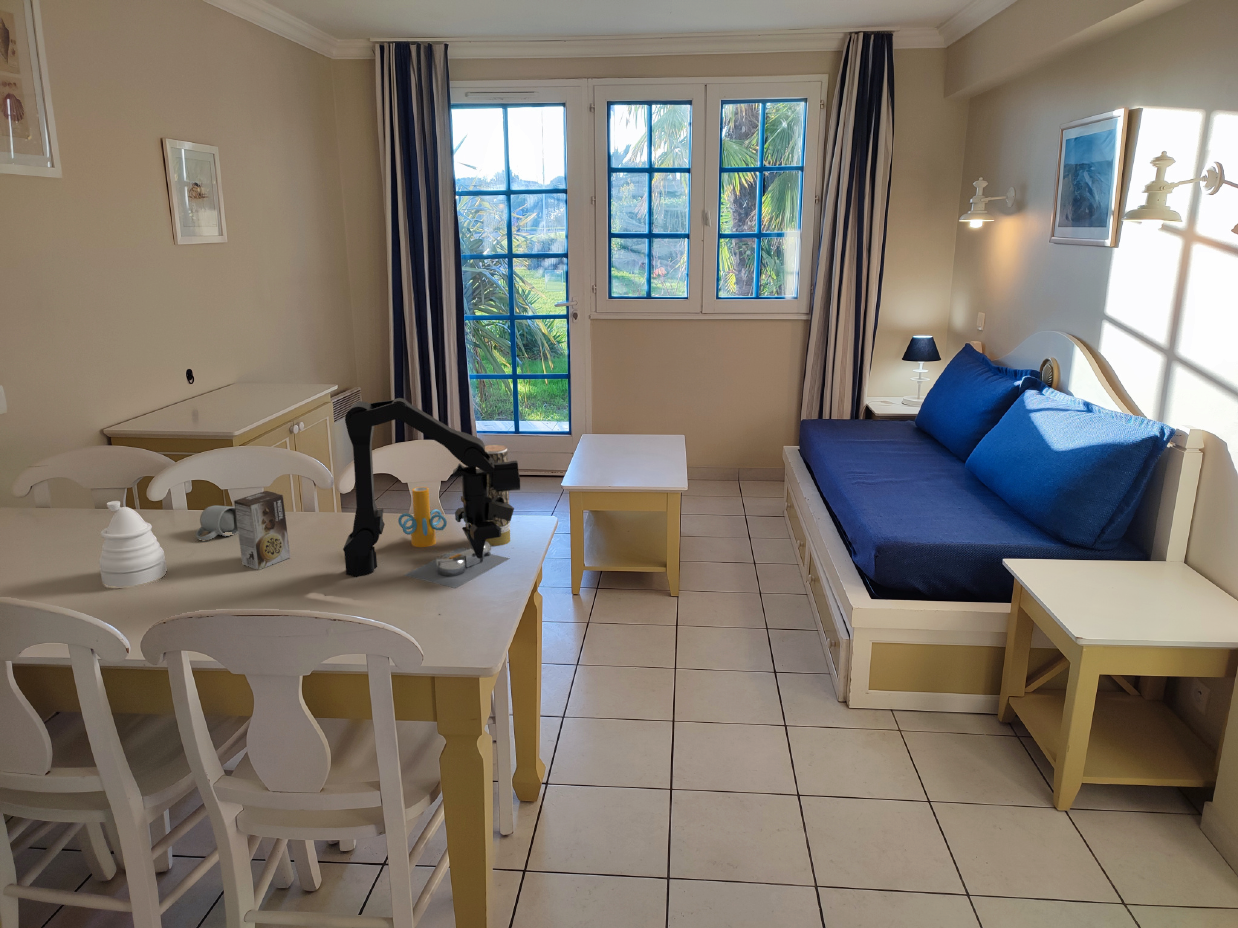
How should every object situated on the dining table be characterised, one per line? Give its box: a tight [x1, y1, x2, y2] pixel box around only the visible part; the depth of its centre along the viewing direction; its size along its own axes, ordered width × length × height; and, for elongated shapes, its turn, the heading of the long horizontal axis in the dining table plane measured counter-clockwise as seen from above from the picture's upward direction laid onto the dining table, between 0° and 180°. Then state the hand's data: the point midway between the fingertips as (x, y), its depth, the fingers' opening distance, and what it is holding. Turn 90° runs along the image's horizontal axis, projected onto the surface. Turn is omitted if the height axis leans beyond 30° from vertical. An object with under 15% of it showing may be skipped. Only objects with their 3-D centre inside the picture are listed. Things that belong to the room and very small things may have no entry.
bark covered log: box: [485, 444, 511, 547], centre depth 209 cm, size 7×7×25 cm
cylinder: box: [397, 486, 448, 548], centre depth 209 cm, size 12×10×15 cm
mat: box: [404, 547, 511, 589], centre depth 196 cm, size 20×15×1 cm
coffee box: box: [233, 490, 291, 570], centre depth 199 cm, size 9×6×16 cm
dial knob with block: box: [435, 546, 483, 576], centre depth 195 cm, size 12×6×3 cm, turn 141°
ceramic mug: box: [195, 505, 238, 541], centre depth 218 cm, size 11×8×8 cm
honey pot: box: [98, 500, 168, 587], centre depth 190 cm, size 13×13×18 cm
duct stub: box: [483, 541, 492, 559], centre depth 202 cm, size 4×3×3 cm
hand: (479, 557), depth 196 cm, fingers closed
